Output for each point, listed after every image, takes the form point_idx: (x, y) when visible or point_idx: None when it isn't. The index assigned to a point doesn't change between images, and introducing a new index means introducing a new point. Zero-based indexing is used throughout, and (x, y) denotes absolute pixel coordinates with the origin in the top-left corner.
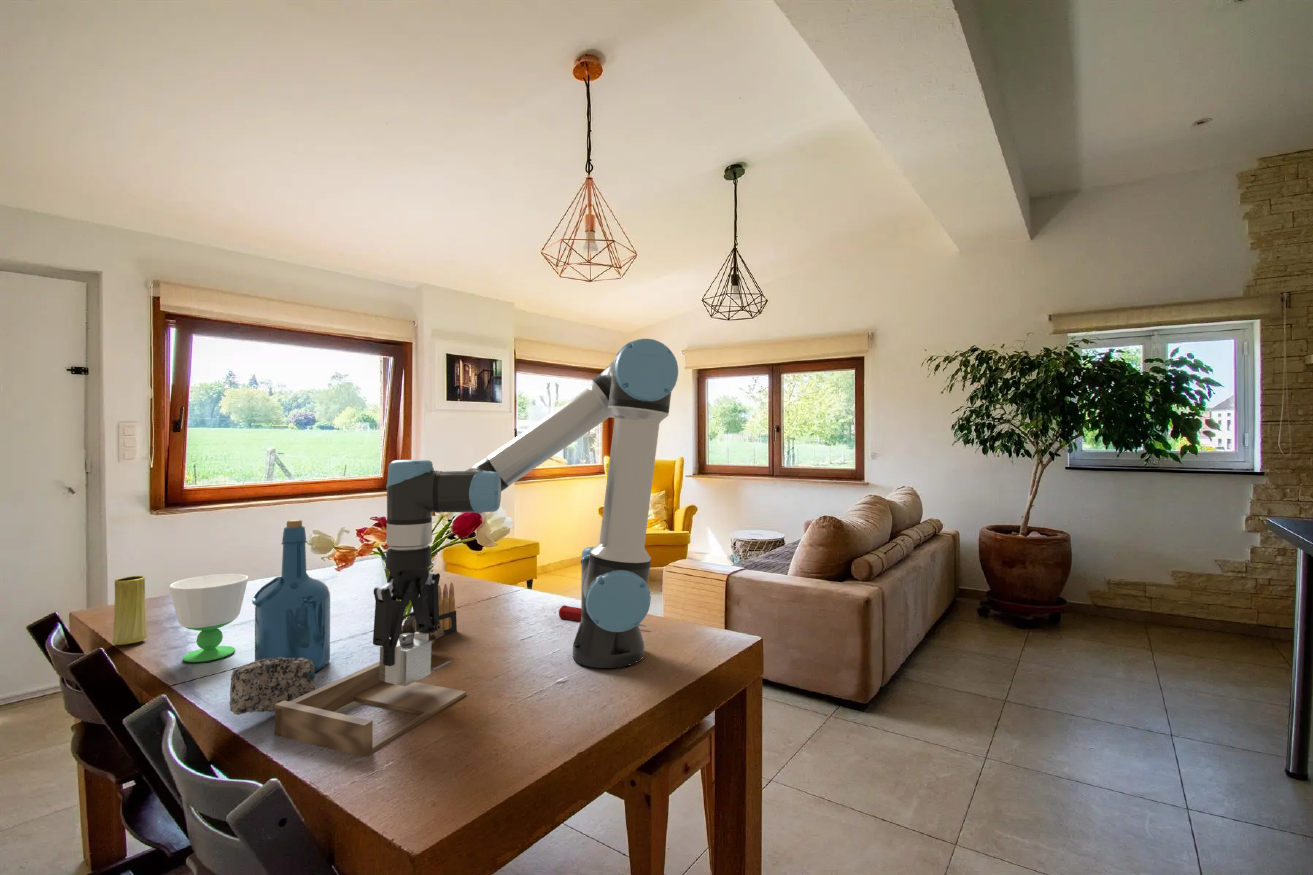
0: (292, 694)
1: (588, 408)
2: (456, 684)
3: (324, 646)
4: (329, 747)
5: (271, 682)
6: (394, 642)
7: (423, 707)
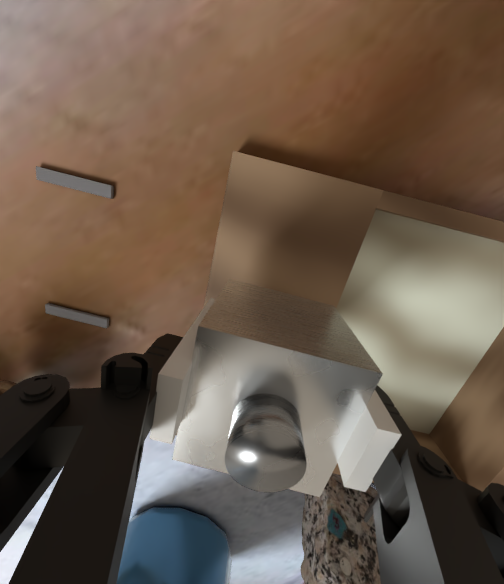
0: (368, 505)
1: None
2: (164, 226)
3: (149, 559)
4: None
5: None
6: (441, 473)
7: (347, 229)
